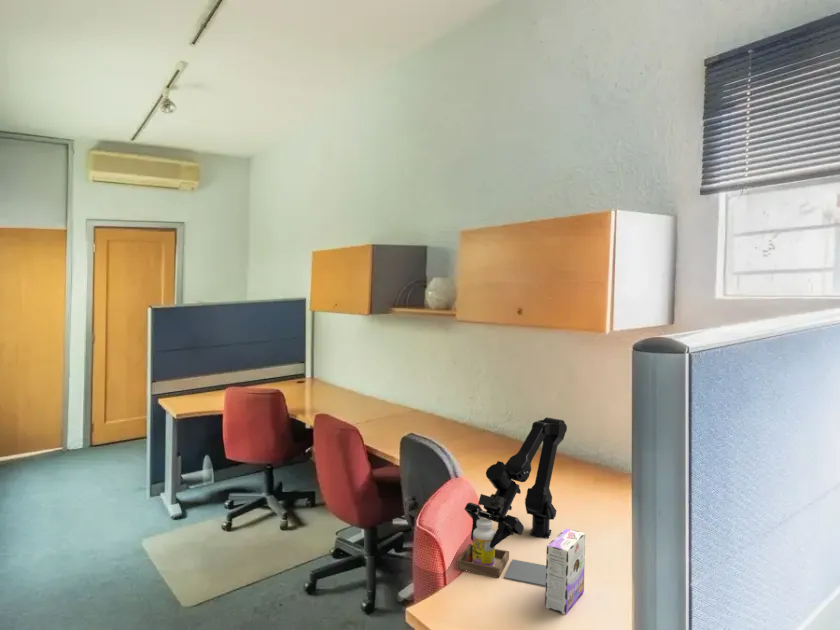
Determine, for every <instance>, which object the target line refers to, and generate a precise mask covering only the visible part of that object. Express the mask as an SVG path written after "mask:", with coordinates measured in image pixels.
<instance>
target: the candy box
mask: <svg viewBox="0 0 840 630" xmlns="http://www.w3.org/2000/svg"><path fill="white" fill-rule="evenodd" d="M585 551H586V533H585V532H581V531H577V530H573V529H570V528H564V529H562V531H561V532H560V533H559V534H557V536H556V537H555V538H554V539H553V540H551V541H550V542H549V543H548V544H546V558H545V559H546V563H545V565H546V587H545V594H544V595H545V596H544V598H545V599H544V601H545V602H544V607H545V609H548V610H550V611H554V612H556V613H559V614H560V615H561V614H562V615H564V616H565V615H568V613H569V611H570V610H571V609H572V608H573V606H574V605H575V604H576V603H577V602H578V600H579V599H580V597H581V596H582V595H583V593H585V565H586V564H585V562H586V559H585V553H586V552H585Z"/></svg>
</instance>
